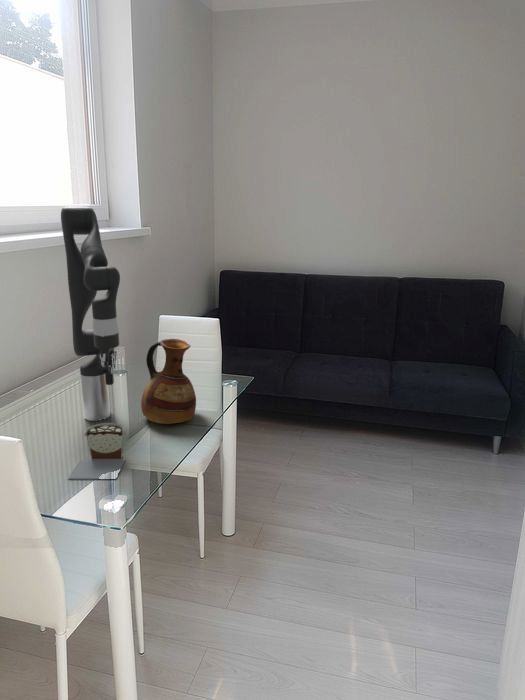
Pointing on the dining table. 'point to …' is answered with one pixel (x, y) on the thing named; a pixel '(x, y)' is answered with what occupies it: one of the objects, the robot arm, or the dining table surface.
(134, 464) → the dining table surface
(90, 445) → the food container
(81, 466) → the mat
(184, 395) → the ceramic pitcher
